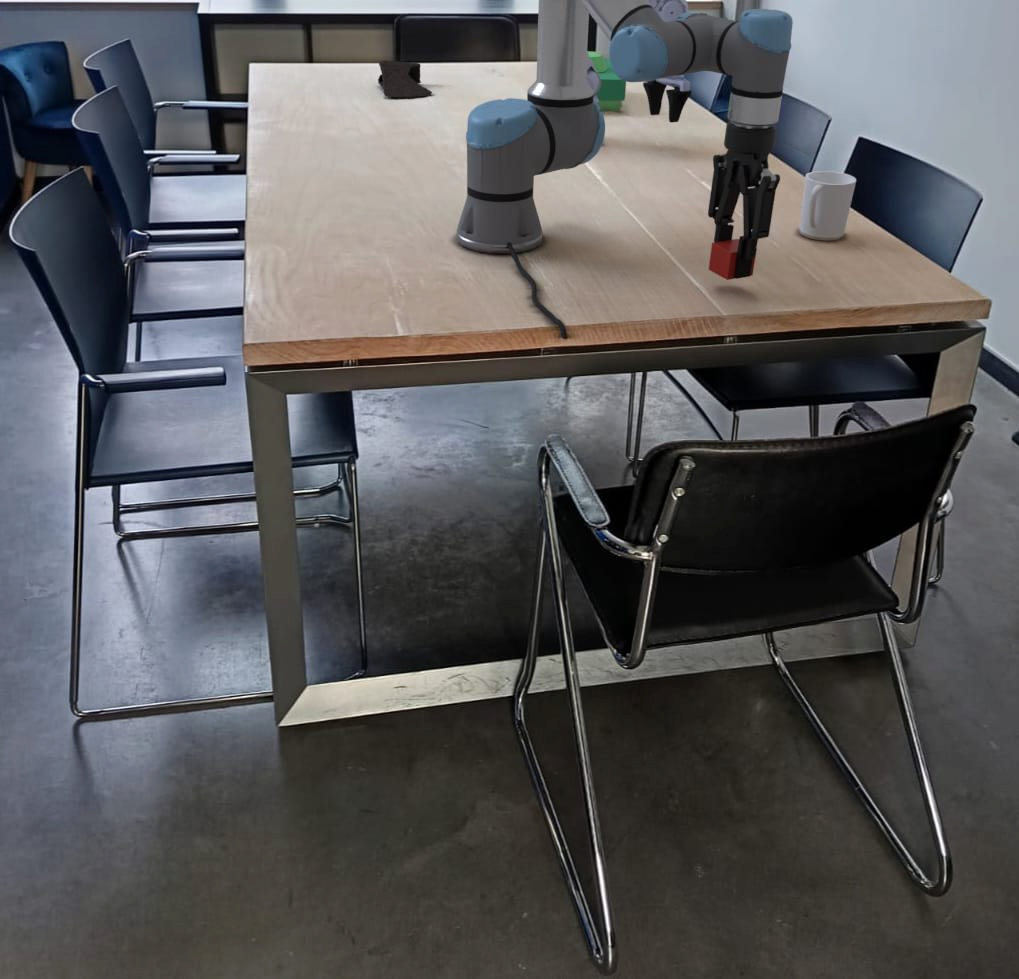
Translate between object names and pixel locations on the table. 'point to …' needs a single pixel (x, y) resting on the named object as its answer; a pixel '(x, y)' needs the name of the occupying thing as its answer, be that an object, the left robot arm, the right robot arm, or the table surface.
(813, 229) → the mug
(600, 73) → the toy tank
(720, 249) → the block
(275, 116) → the table surface
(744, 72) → the left robot arm
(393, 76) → the axe head
